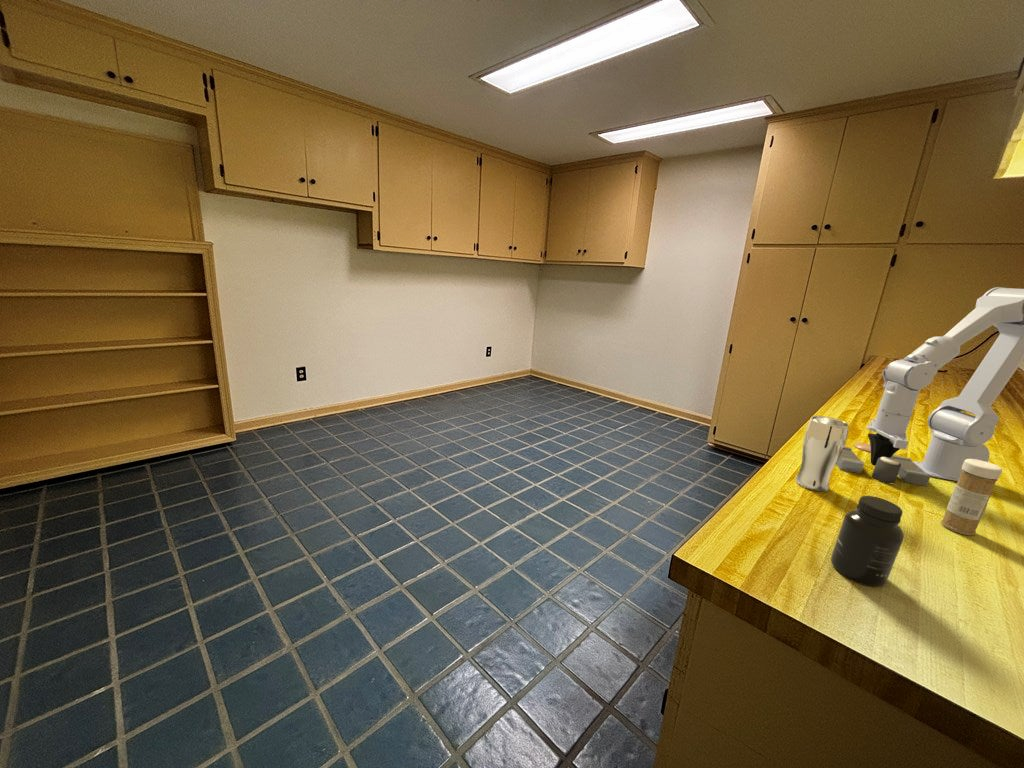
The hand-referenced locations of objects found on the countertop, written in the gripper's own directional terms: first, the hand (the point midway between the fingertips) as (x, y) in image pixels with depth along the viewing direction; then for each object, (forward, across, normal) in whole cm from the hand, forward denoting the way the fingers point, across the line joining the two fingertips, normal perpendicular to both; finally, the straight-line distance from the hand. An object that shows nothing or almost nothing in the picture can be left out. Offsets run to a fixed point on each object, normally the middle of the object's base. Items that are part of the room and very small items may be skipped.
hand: (877, 465), depth 98 cm
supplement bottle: (+2, +47, -18) cm, 50 cm away
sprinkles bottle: (+2, +23, +5) cm, 24 cm away
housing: (+1, -1, 0) cm, 2 cm away
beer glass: (+2, +17, -17) cm, 24 cm away
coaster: (+1, -16, +4) cm, 17 cm away
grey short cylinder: (+1, +5, 0) cm, 5 cm away
